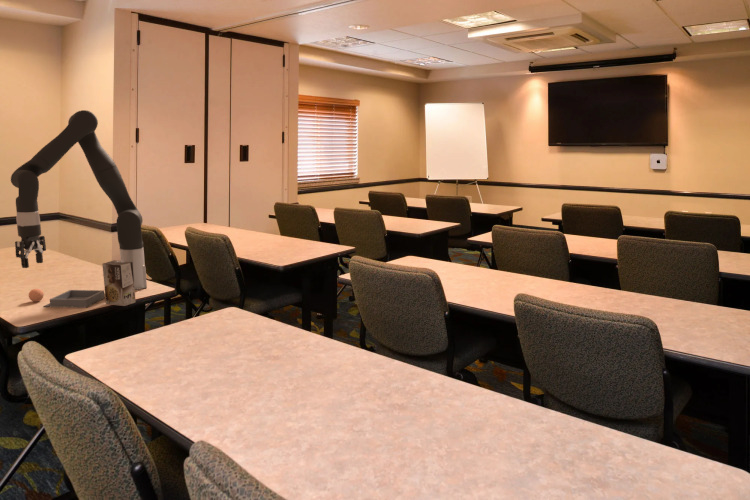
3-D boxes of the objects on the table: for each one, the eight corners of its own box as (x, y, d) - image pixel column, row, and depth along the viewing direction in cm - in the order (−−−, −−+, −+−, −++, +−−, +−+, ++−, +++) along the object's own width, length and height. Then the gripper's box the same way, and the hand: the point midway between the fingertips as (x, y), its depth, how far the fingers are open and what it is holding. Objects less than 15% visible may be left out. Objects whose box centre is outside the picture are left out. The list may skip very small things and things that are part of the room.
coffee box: (136, 302, 215) (133, 261, 212) (123, 306, 209) (120, 265, 206) (117, 299, 218) (114, 259, 215) (105, 304, 212) (101, 262, 209)
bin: (104, 297, 221) (103, 290, 220) (86, 307, 207) (85, 299, 207) (70, 297, 221) (70, 289, 220) (50, 306, 208) (49, 299, 207)
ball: (44, 299, 218) (43, 286, 217) (44, 302, 214) (42, 289, 213) (29, 300, 215) (28, 288, 215) (28, 303, 211) (27, 291, 210)
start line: (69, 296, 221) (69, 296, 221) (48, 307, 207) (48, 306, 207) (65, 296, 221) (64, 296, 221) (43, 306, 207) (43, 306, 207)
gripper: (31, 220, 216) (34, 261, 219) (6, 225, 202) (10, 269, 205) (50, 221, 216) (53, 261, 219) (26, 226, 202) (30, 269, 205)
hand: (32, 265), depth 212 cm, fingers open, 8 cm apart
